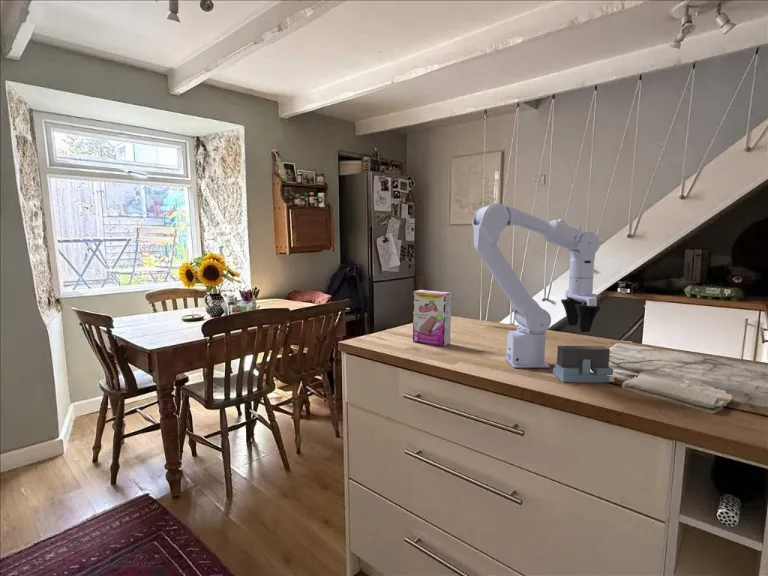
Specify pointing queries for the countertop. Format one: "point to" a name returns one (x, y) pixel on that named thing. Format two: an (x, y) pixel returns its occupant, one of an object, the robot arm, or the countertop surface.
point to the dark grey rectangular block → (583, 356)
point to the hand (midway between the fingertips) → (578, 328)
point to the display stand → (582, 373)
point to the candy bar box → (432, 317)
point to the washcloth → (673, 391)
